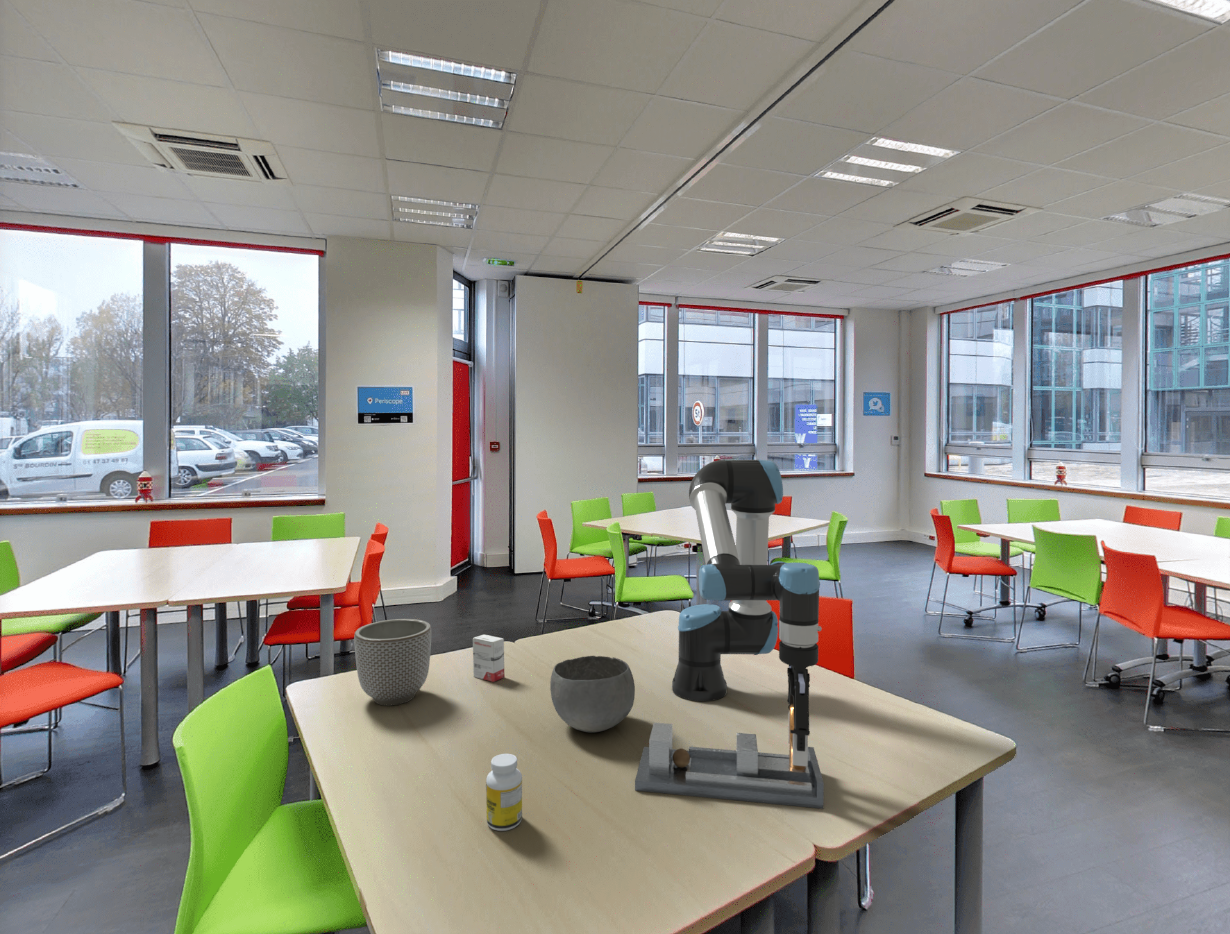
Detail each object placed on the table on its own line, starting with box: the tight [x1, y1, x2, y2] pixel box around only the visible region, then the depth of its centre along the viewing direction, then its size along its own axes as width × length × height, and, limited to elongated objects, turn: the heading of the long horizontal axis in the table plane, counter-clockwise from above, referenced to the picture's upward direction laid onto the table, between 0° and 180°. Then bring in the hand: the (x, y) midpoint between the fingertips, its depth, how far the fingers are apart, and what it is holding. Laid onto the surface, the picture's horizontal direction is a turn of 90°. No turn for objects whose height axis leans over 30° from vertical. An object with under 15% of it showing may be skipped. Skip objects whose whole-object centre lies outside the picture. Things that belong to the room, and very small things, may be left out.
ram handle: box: [735, 704, 809, 783], centre depth 126 cm, size 14×8×14 cm, turn 80°
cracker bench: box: [634, 722, 825, 810], centre depth 128 cm, size 36×14×9 cm, turn 80°
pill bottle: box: [485, 753, 523, 832], centre depth 114 cm, size 6×6×12 cm
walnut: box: [673, 748, 690, 768], centre depth 129 cm, size 4×4×4 cm
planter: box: [353, 618, 432, 706], centre depth 169 cm, size 20×20×19 cm
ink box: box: [472, 634, 505, 683], centre depth 184 cm, size 9×5×12 cm, turn 58°
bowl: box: [549, 655, 636, 734], centre depth 152 cm, size 20×20×15 cm
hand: (797, 753), depth 125 cm, fingers open, 8 cm apart
